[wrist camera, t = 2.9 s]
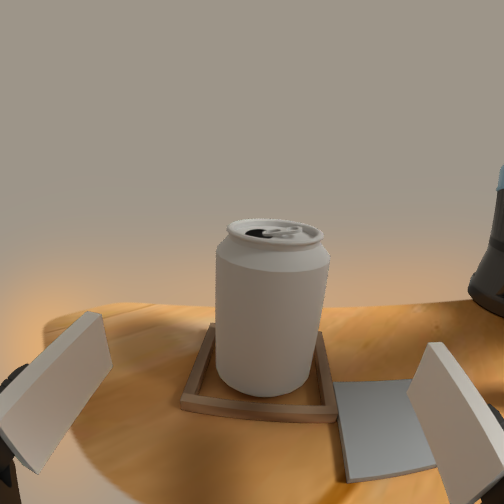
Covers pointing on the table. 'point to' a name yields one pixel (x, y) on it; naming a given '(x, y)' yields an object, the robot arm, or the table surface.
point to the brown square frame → (260, 410)
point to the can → (268, 304)
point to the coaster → (380, 431)
